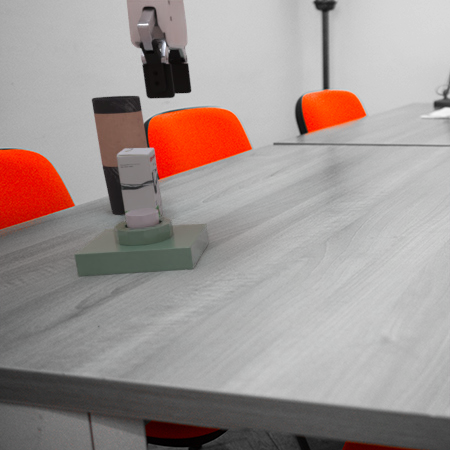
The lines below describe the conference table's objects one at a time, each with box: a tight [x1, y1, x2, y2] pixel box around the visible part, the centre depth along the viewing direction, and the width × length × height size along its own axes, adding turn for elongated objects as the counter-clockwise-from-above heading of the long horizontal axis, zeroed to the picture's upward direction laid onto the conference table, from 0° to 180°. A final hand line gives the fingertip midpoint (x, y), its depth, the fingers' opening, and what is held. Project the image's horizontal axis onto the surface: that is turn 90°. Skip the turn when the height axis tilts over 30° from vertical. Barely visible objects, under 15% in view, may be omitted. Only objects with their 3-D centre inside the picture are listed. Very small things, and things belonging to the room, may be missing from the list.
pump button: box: [124, 208, 160, 229], centre depth 76 cm, size 4×4×2 cm
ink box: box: [117, 147, 164, 217], centre depth 95 cm, size 9×5×12 cm, turn 16°
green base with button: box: [73, 216, 210, 277], centre depth 77 cm, size 14×11×5 cm
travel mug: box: [91, 95, 149, 216], centre depth 101 cm, size 8×8×20 cm
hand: (170, 95), depth 75 cm, fingers open, 9 cm apart
